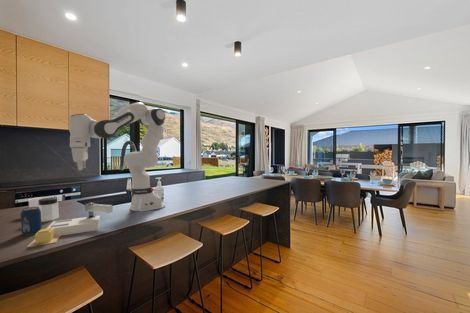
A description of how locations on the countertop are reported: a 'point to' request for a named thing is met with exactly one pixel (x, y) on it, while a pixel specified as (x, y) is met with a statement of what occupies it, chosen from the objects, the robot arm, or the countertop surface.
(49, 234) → the snap cover
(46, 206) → the jar
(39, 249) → the countertop surface
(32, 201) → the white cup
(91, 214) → the t key
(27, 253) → the countertop surface
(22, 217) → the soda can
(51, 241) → the cork pad
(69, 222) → the latch box
